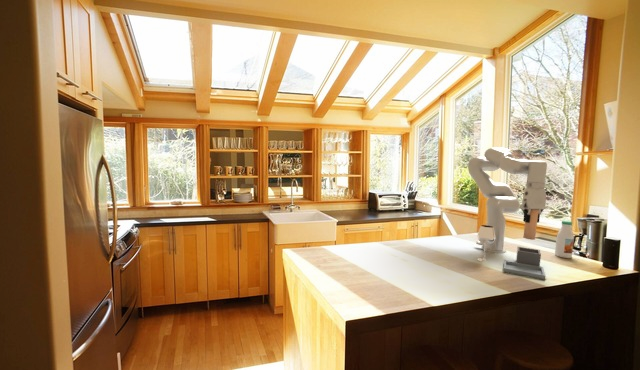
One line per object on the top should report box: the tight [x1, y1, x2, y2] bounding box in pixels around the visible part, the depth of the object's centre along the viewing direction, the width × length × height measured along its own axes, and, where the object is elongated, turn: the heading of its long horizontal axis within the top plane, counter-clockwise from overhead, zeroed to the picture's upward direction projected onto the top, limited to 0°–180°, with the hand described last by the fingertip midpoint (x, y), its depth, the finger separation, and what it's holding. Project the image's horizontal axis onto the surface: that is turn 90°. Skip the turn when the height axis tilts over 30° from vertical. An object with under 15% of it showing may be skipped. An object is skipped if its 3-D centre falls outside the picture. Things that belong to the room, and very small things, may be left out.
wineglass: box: [477, 224, 495, 262], centre depth 166 cm, size 8×8×18 cm
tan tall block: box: [523, 209, 539, 241], centre depth 162 cm, size 5×5×15 cm
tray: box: [502, 260, 546, 281], centre depth 152 cm, size 16×14×2 cm
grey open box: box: [515, 246, 542, 267], centre depth 163 cm, size 10×10×8 cm
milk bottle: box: [554, 220, 575, 259], centre depth 181 cm, size 8×8×20 cm
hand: (531, 221), depth 161 cm, fingers closed on tan tall block, 5 cm apart
